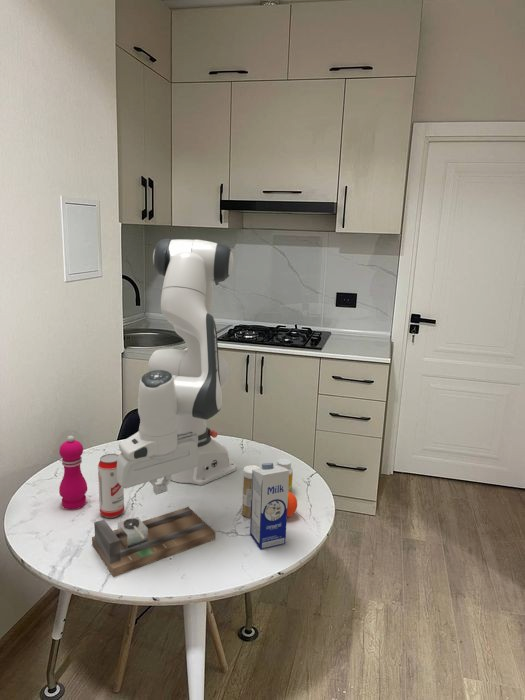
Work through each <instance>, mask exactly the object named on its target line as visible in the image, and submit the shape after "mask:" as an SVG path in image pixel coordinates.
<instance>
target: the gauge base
mask: <svg viewBox="0 0 525 700" xmlns="http://www.w3.org/2000/svg"><path fill="white" fill-rule="evenodd" d="M141 521H142V522H143V523H144V525H145V526H146V527H147V528H148V541H147V542H144V543H141V544H138V545H135V546H132V547H129V548H126V547H125V546H124V545H123V543H122V542H121V541H120V539H119V538H118V528H117V529H112V528H111V526H110V525H109V524H108V522H107V521H106V519H101V520H98V521H94V522H93V523H94V525H93V527H94V535H93V536H91V543H92V544H91V545H92V547H93V548H94V550H95V552H97V554H98V556H99V557H100V558H101V561H102V562H103V564H104V565H105V566H106V568H107V569H108V571H109V572H110V574H111V575H112V577H113V578H114V577H116V576H119V575H121V574H123V573H127V572H130V571H133V570H136V569H138V568H140V567H143V566H146V565H148V564H152V563H154V562H158V561H159V560H162V559H165V558H167V557H171V556H174V555H176V554H179V553H181V552H184V551H187V550H190V549H192V548H195V547H198V546H200V545H203V544H206V543H209V542H211V540H212V541H214V540H216V530H214V529H213V528H212V527H211V526H209V524H208V523H206V521H204V520H203V519H202V518H201V517H200V516H199V515H198V514H197V513H196V512H195V511H194V510H192V509H191V508H190V507H189V506H187V507H183V508H180V509H178V510H173V511H171V512H167V513H165V514H160V515H158V516H155V517H151V518H149V519H145V520H141ZM208 541H209V542H208Z"/></svg>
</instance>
